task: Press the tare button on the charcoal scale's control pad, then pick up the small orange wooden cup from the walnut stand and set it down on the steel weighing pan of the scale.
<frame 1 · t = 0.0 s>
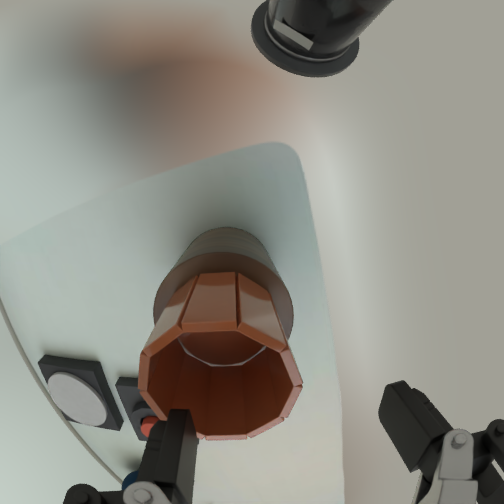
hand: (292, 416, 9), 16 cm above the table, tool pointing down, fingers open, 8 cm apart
tare pad: (160, 409, 28), on the table
scale: (83, 390, 27), on the table
stand: (226, 271, 25), on the table
tare button: (155, 428, 25), point 3 cm above the table, slide at 0.2 cm
christmas ornament: (152, 473, 32), on the table
orange wooden cup: (222, 322, 15), point 10 cm above the table, touching stand
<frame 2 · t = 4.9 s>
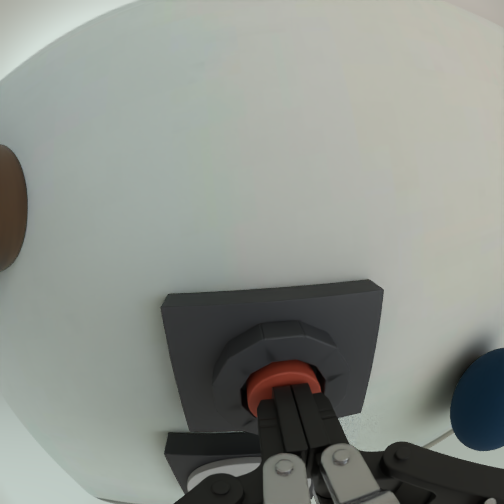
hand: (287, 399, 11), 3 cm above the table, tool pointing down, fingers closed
tare pad: (274, 358, 14), on the table
scale: (247, 465, 16), on the table
tare button: (282, 391, 11), point 3 cm above the table, slide at -0.4 cm, touching gripper
christmas ornament: (467, 373, 16), on the table
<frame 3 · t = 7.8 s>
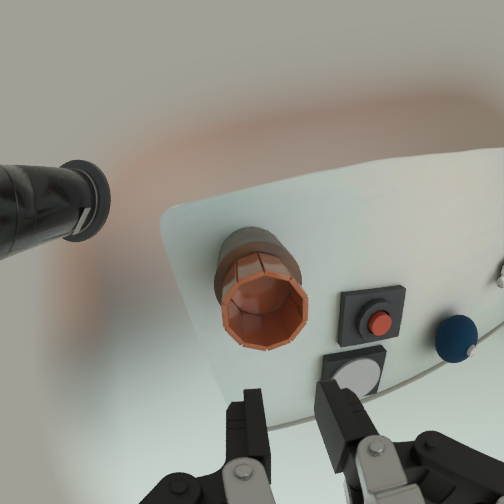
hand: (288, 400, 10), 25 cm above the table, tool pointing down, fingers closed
tare pad: (370, 313, 38), on the table
scale: (350, 372, 40), on the table
stand: (251, 259, 35), on the table
tare button: (379, 323, 35), point 3 cm above the table, slide at 0.1 cm
christmas ornament: (442, 328, 40), on the table
orange wooden cup: (258, 285, 25), point 10 cm above the table, touching stand
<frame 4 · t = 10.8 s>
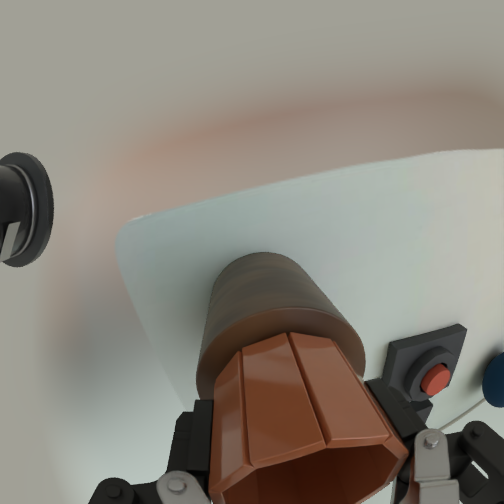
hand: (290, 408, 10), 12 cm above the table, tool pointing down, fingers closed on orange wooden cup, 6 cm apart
tare pad: (420, 363, 24), on the table
scale: (385, 430, 26), on the table
stand: (263, 302, 21), on the table
tare button: (435, 379, 21), point 3 cm above the table, slide at 0.1 cm
christmas ornament: (489, 365, 27), on the table
orange wooden cup: (284, 385, 12), point 10 cm above the table, touching gripper, stand
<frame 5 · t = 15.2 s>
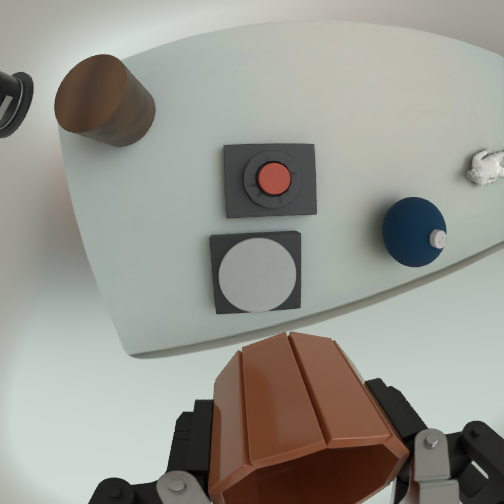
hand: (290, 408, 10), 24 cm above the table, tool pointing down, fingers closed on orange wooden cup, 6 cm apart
tare pad: (269, 180, 31), on the table
scale: (255, 270, 33), on the table
stand: (124, 115, 28), on the table
tare button: (273, 178, 28), point 3 cm above the table, slide at 0.1 cm
figurine: (485, 168, 33), on the table
christmas ornament: (396, 227, 33), on the table
orange wooden cup: (284, 385, 12), point 22 cm above the table, touching gripper
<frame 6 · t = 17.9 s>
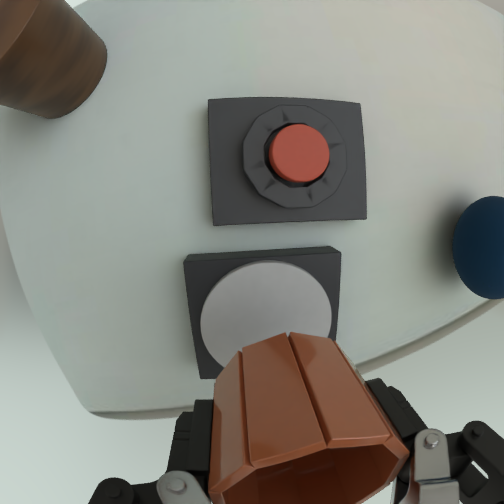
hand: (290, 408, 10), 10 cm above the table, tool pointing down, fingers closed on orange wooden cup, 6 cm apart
tare pad: (287, 160, 18), on the table
scale: (263, 310, 20), on the table
stand: (65, 74, 15), on the table
tare button: (298, 153, 15), point 3 cm above the table, slide at 0.1 cm
christmas ornament: (462, 238, 20), on the table
orange wooden cup: (284, 385, 12), point 9 cm above the table, touching gripper
when the fingers open (4 cm above the table, at t = 19.9 s): orange wooden cup stays where it is, resting on scale.
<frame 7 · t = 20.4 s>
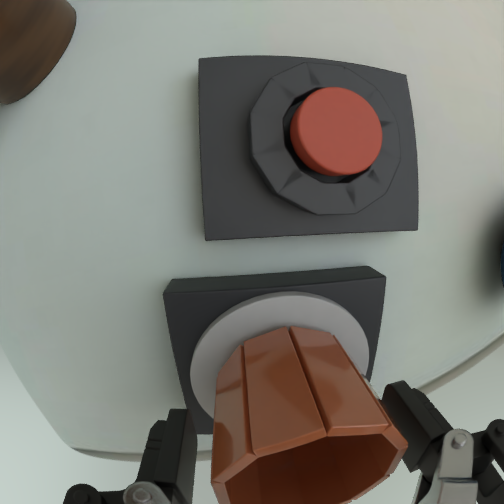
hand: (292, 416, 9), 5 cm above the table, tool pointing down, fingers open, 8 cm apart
tare pad: (311, 145, 12), on the table
scale: (276, 351, 14), on the table
stand: (28, 49, 9), on the table
tare button: (336, 132, 9), point 3 cm above the table, slide at 0.1 cm
orange wooden cup: (285, 379, 12), point 3 cm above the table, touching scale
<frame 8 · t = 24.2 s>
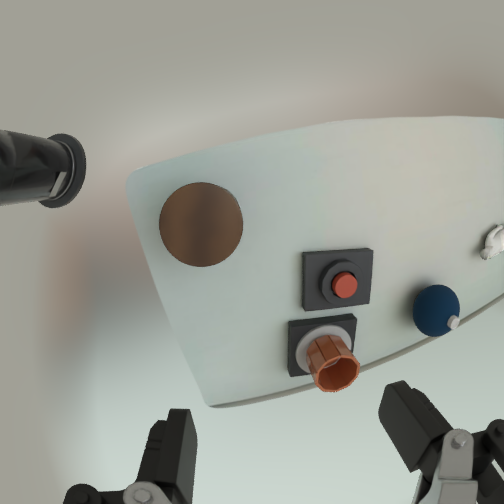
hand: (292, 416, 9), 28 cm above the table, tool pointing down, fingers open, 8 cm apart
tare pad: (336, 277, 38), on the table
scale: (319, 343, 41), on the table
stand: (209, 215, 35), on the table
tare button: (344, 285, 35), point 3 cm above the table, slide at 0.1 cm
figurine: (495, 239, 40), on the table
christmas ornament: (421, 301, 41), on the table
orange wooden cup: (325, 351, 38), point 3 cm above the table, touching scale
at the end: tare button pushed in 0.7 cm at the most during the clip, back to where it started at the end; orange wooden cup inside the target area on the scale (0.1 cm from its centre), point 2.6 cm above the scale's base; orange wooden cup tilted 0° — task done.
